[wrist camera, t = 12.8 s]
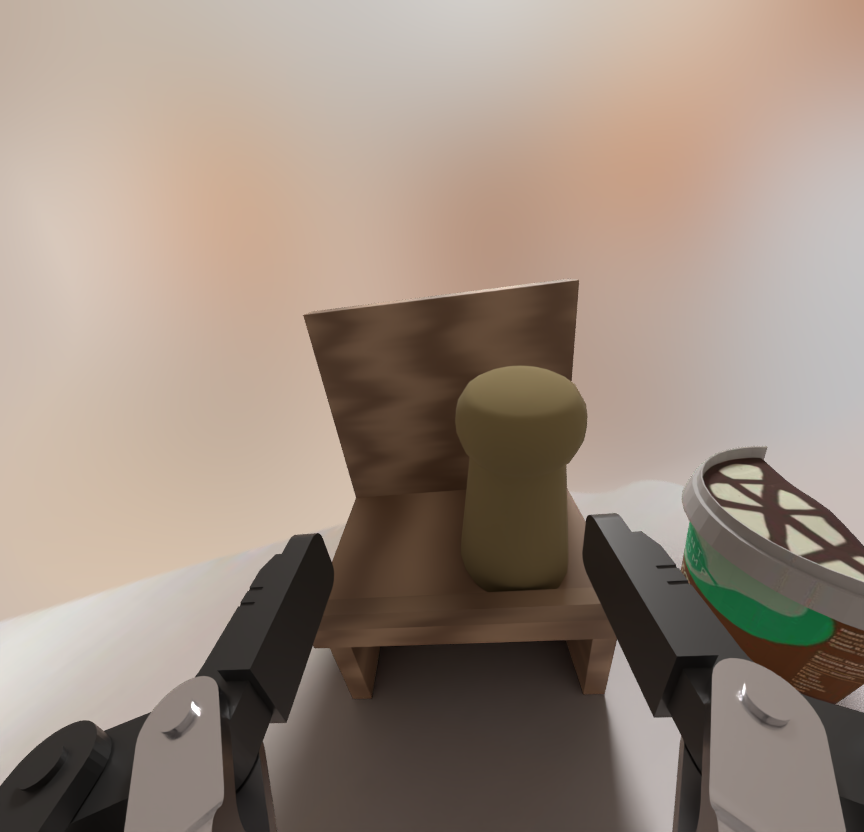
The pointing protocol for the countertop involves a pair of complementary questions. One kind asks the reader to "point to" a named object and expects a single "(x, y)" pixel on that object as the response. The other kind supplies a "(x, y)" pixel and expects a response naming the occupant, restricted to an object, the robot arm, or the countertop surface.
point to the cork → (518, 475)
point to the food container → (777, 572)
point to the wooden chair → (438, 478)
